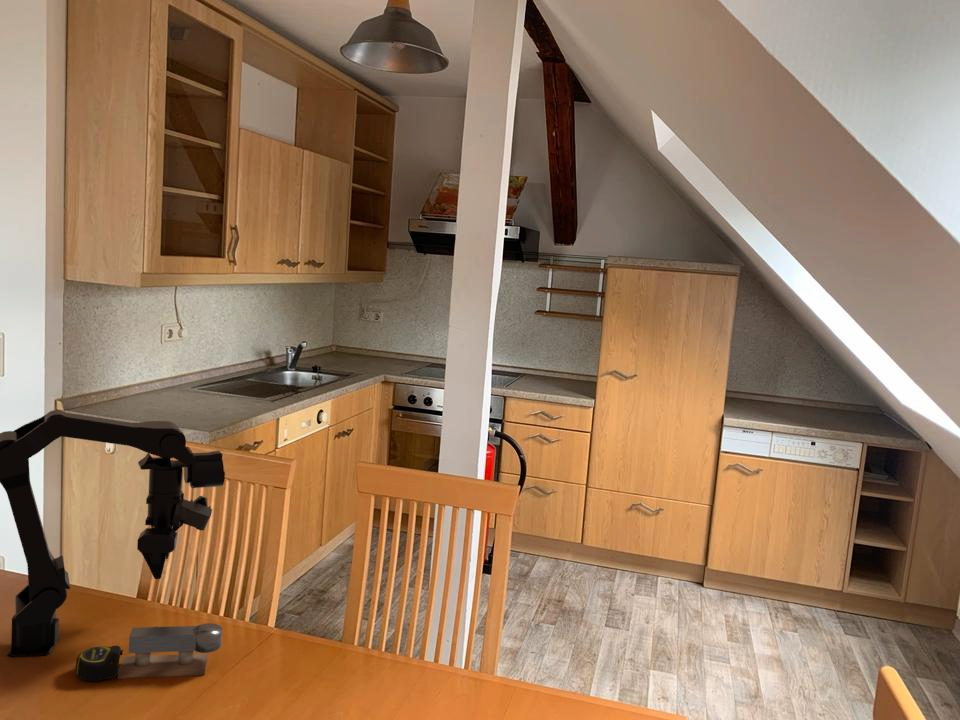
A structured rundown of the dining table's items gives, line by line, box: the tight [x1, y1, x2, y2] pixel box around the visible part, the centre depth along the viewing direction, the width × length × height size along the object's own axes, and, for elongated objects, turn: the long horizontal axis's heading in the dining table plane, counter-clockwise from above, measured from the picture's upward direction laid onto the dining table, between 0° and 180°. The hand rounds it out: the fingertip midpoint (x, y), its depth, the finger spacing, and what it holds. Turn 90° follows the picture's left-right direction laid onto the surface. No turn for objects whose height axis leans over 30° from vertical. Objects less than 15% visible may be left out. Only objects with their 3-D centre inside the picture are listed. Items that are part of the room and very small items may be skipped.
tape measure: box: [75, 645, 124, 682], centre depth 131 cm, size 7×7×4 cm
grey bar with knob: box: [128, 622, 223, 654], centre depth 134 cm, size 15×5×3 cm, turn 105°
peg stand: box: [117, 651, 209, 679], centre depth 134 cm, size 14×5×4 cm, turn 105°
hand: (161, 568), depth 146 cm, fingers open, 9 cm apart
